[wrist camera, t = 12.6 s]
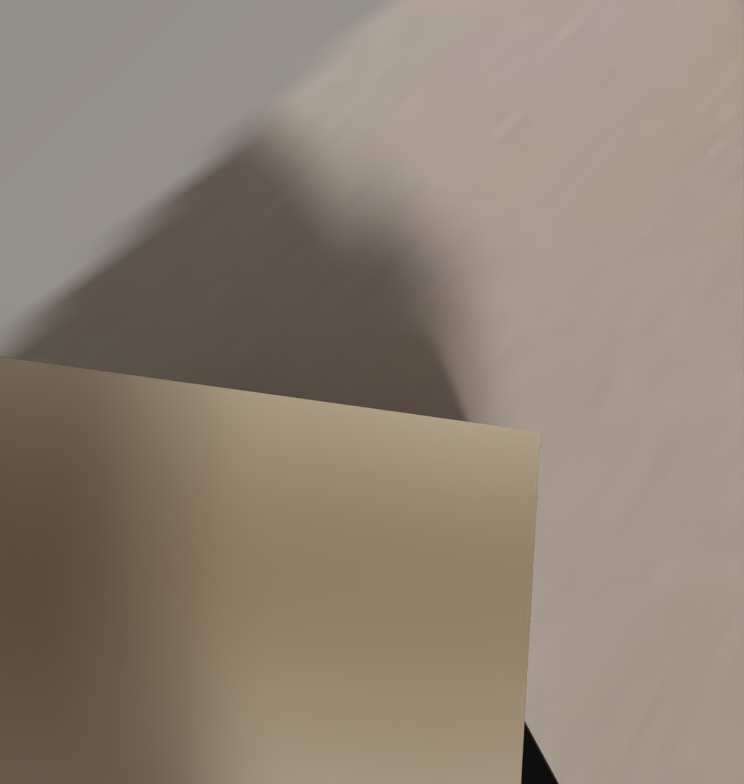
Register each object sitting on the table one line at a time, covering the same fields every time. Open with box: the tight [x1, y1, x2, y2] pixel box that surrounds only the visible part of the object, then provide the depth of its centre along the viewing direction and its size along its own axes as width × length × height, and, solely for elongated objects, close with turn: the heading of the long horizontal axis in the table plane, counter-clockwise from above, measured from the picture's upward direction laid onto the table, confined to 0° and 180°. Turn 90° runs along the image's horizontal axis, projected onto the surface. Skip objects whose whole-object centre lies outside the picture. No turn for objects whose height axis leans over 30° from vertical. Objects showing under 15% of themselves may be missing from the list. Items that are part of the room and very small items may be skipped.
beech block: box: [0, 357, 541, 784], centre depth 9 cm, size 6×6×10 cm
